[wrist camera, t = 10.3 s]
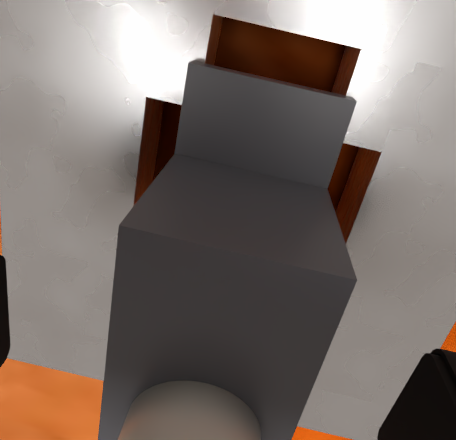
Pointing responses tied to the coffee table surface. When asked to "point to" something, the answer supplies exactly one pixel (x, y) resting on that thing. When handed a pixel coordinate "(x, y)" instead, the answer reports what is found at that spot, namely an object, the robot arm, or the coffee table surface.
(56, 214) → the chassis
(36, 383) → the coffee table surface
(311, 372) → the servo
